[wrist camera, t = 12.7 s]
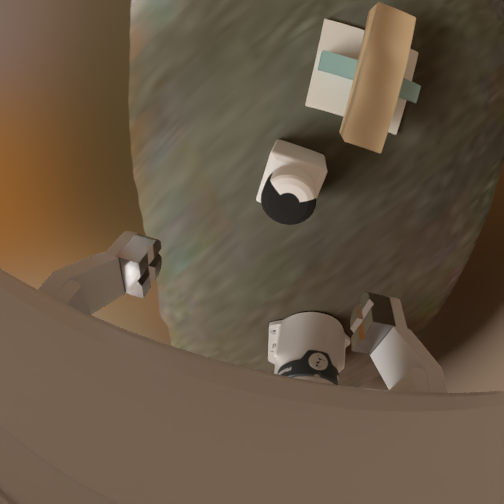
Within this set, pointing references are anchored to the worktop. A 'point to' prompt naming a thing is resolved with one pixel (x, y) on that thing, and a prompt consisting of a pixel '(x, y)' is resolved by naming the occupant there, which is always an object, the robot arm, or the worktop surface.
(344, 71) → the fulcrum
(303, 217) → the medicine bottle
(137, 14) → the worktop surface
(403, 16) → the batten
